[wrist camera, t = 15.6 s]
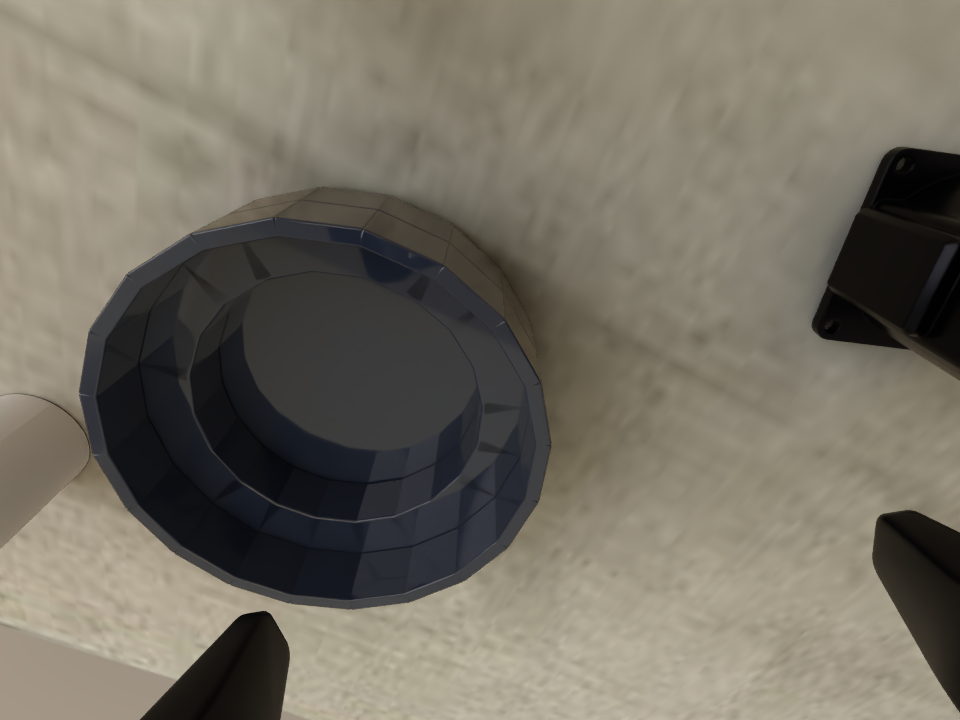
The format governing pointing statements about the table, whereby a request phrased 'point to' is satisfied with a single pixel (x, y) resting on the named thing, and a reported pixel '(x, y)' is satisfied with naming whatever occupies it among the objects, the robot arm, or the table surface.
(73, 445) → the tube
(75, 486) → the table surface
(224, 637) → the robot arm
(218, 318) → the bowl
